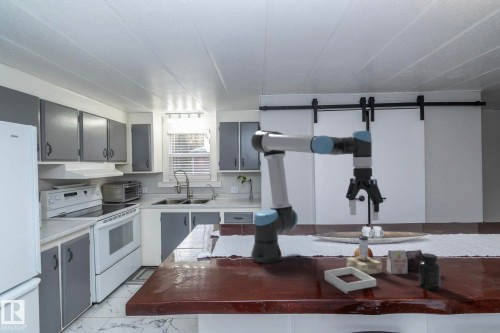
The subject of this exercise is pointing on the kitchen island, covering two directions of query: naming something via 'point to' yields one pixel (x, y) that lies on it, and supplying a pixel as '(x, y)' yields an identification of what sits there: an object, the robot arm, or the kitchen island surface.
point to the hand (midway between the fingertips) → (363, 217)
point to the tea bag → (397, 262)
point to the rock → (413, 259)
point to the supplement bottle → (429, 272)
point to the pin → (363, 248)
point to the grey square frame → (343, 286)
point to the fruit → (368, 253)
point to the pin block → (365, 265)
